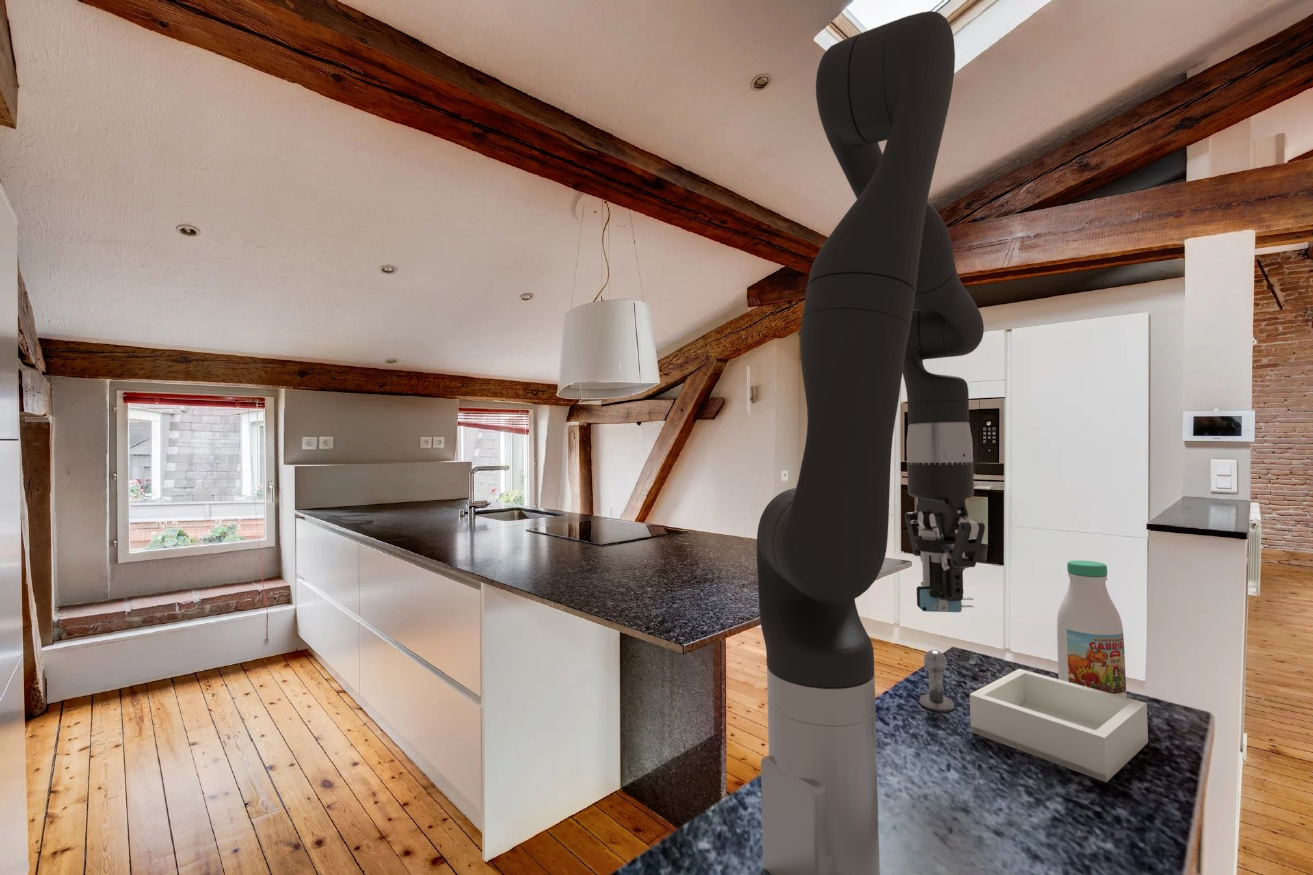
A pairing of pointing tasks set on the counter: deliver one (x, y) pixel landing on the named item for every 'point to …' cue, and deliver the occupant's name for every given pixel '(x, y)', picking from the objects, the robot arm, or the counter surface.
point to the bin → (1061, 722)
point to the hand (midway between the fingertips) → (943, 595)
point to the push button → (934, 576)
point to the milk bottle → (1090, 631)
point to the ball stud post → (936, 683)
